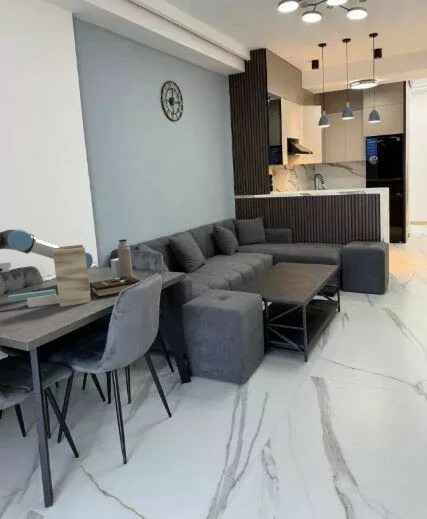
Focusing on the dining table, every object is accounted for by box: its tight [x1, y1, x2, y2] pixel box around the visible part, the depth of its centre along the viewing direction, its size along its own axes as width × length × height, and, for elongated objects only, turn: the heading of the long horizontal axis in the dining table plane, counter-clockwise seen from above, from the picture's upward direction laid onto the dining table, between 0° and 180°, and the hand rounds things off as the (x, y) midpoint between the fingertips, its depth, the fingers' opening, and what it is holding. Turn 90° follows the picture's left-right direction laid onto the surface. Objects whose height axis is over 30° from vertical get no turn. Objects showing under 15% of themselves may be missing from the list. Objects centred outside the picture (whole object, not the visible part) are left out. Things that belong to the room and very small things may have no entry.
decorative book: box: [89, 275, 141, 299], centre depth 259 cm, size 19×8×30 cm
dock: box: [26, 293, 58, 309], centre depth 243 cm, size 8×15×5 cm, turn 111°
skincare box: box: [110, 257, 120, 279], centre depth 291 cm, size 8×6×15 cm
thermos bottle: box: [117, 238, 134, 278], centre depth 283 cm, size 8×8×28 cm
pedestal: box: [52, 244, 92, 307], centre depth 239 cm, size 10×16×31 cm, turn 111°
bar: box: [7, 288, 57, 303], centre depth 241 cm, size 3×24×3 cm, turn 111°
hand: (10, 266), depth 238 cm, fingers open, 13 cm apart
